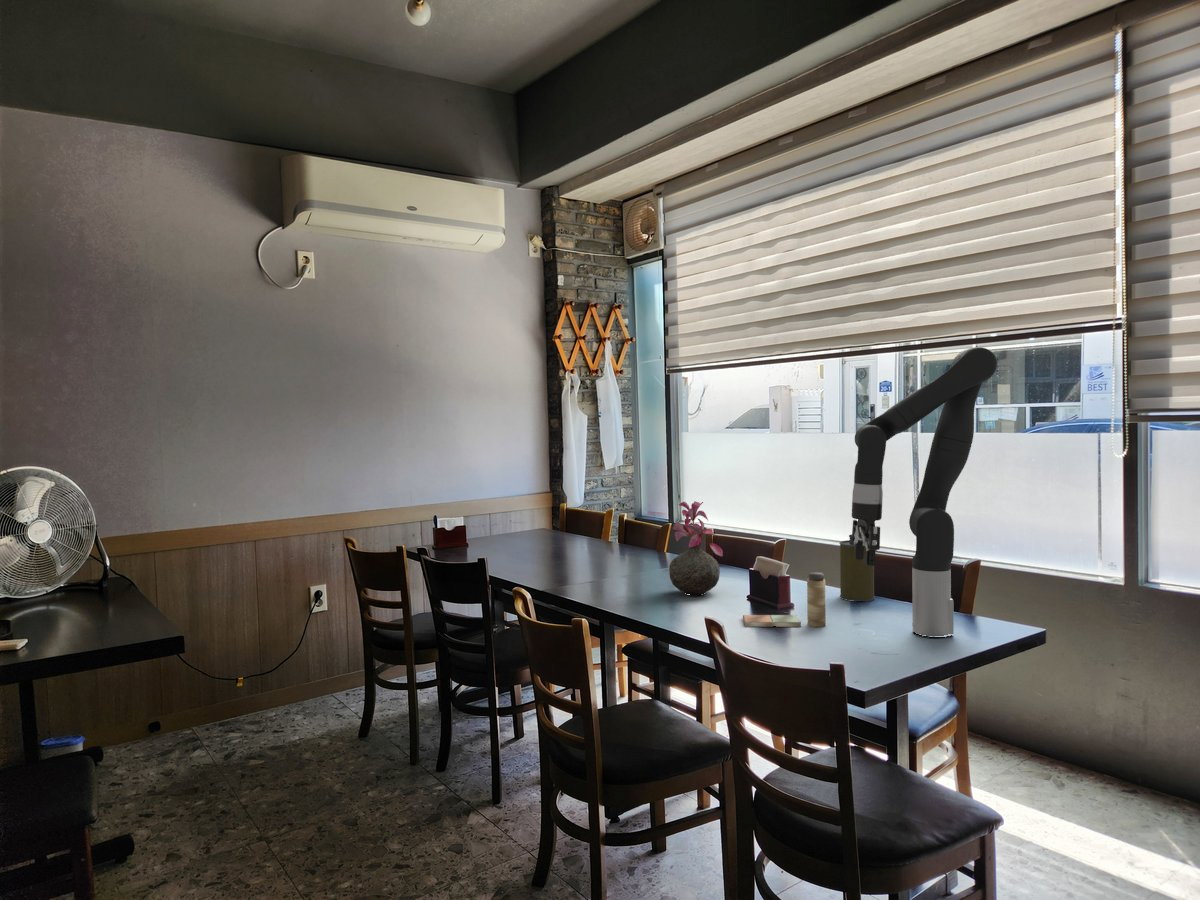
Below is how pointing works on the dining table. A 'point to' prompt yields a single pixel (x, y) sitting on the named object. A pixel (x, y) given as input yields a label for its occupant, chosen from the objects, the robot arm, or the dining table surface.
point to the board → (772, 620)
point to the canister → (855, 574)
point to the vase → (694, 557)
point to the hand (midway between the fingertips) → (864, 562)
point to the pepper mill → (816, 600)
